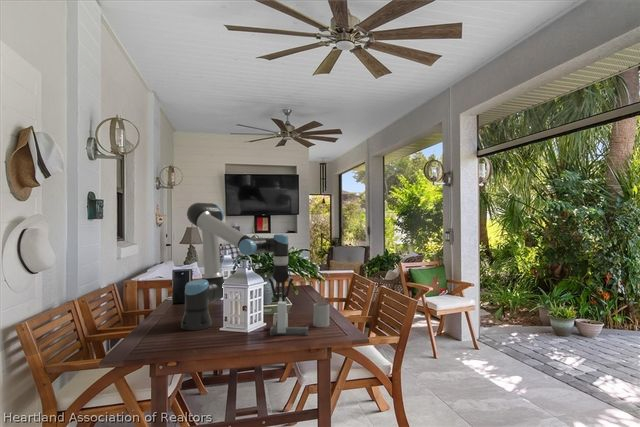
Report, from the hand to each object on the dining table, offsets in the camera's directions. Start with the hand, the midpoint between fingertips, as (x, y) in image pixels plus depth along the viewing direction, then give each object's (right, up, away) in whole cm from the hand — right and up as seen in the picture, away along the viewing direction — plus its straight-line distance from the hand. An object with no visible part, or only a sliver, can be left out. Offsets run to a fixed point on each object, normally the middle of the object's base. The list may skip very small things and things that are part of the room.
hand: (280, 310), depth 195 cm
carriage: (+1, -8, -9) cm, 12 cm away
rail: (+5, -9, -9) cm, 14 cm away
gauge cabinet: (0, -9, 0) cm, 9 cm away
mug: (+21, -10, +8) cm, 24 cm away
